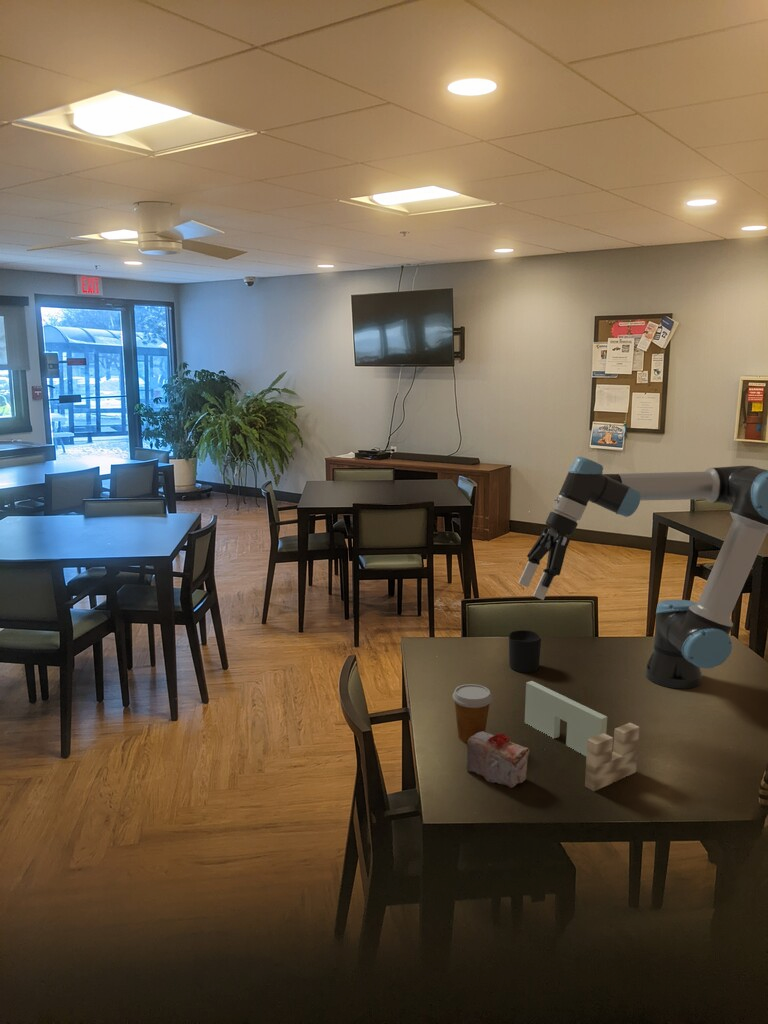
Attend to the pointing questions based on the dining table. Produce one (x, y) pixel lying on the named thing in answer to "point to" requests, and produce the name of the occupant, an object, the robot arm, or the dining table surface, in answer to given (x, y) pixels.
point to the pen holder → (524, 651)
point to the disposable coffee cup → (471, 709)
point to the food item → (497, 758)
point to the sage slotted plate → (562, 716)
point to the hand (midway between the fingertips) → (530, 591)
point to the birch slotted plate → (611, 756)
